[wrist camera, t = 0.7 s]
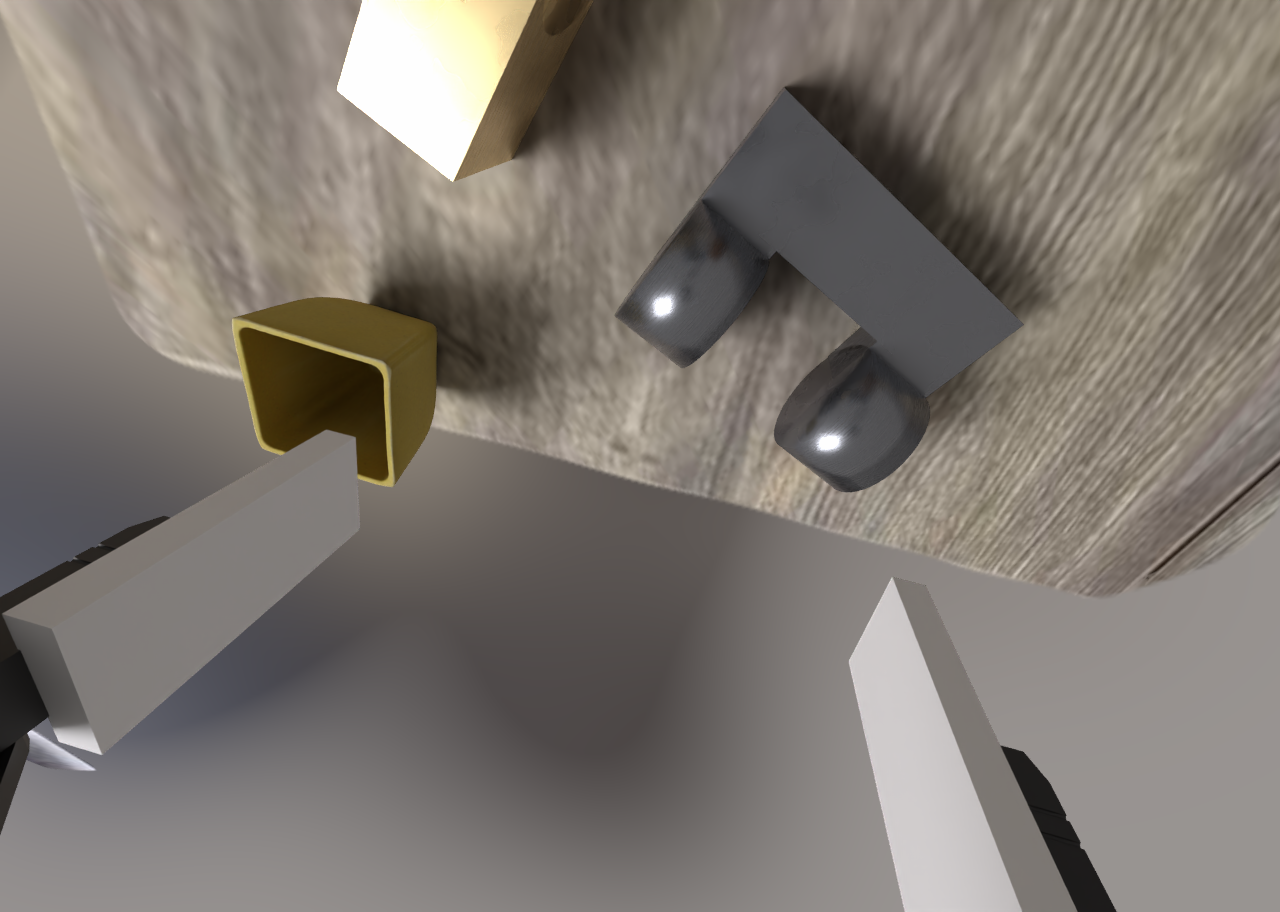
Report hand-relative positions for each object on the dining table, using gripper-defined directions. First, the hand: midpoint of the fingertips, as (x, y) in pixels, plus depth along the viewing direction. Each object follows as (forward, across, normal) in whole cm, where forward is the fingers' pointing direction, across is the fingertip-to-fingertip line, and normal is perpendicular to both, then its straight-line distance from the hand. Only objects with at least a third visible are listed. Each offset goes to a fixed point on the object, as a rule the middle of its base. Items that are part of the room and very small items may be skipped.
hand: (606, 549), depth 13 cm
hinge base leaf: (+22, +6, +4) cm, 23 cm away
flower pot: (+24, -19, -5) cm, 31 cm away
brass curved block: (+20, -11, +15) cm, 27 cm away
